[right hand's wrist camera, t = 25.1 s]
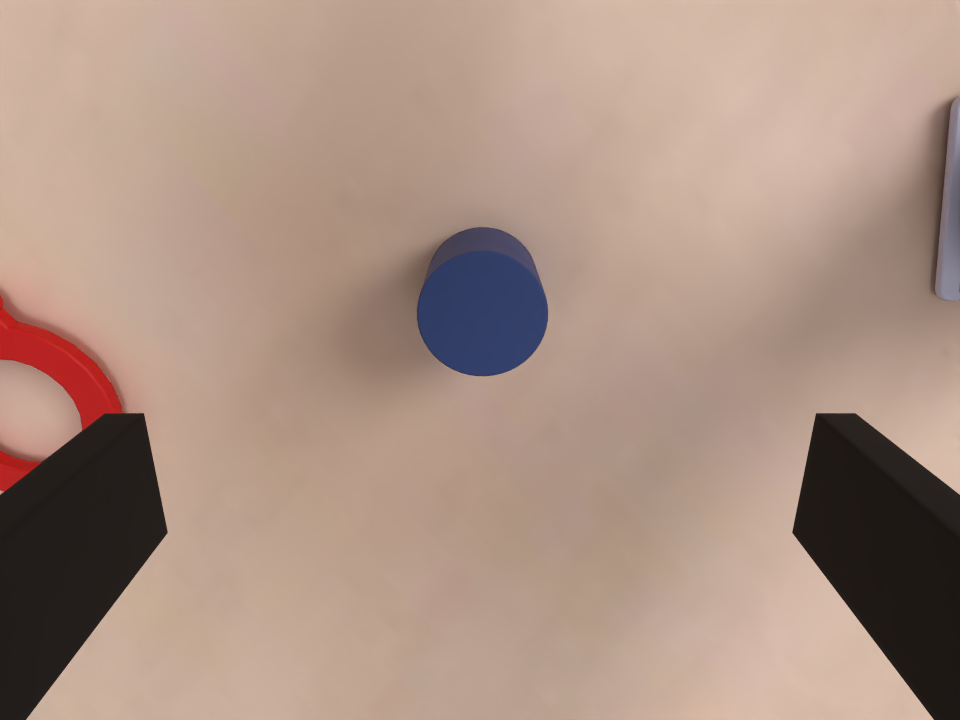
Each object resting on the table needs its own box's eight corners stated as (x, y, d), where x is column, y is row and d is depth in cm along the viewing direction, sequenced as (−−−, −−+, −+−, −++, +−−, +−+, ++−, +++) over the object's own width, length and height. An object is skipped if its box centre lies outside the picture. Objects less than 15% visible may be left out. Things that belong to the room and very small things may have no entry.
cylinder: (404, 276, 27) (389, 309, 22) (489, 203, 26) (490, 222, 21) (476, 354, 28) (475, 400, 24) (559, 288, 27) (574, 323, 22)
